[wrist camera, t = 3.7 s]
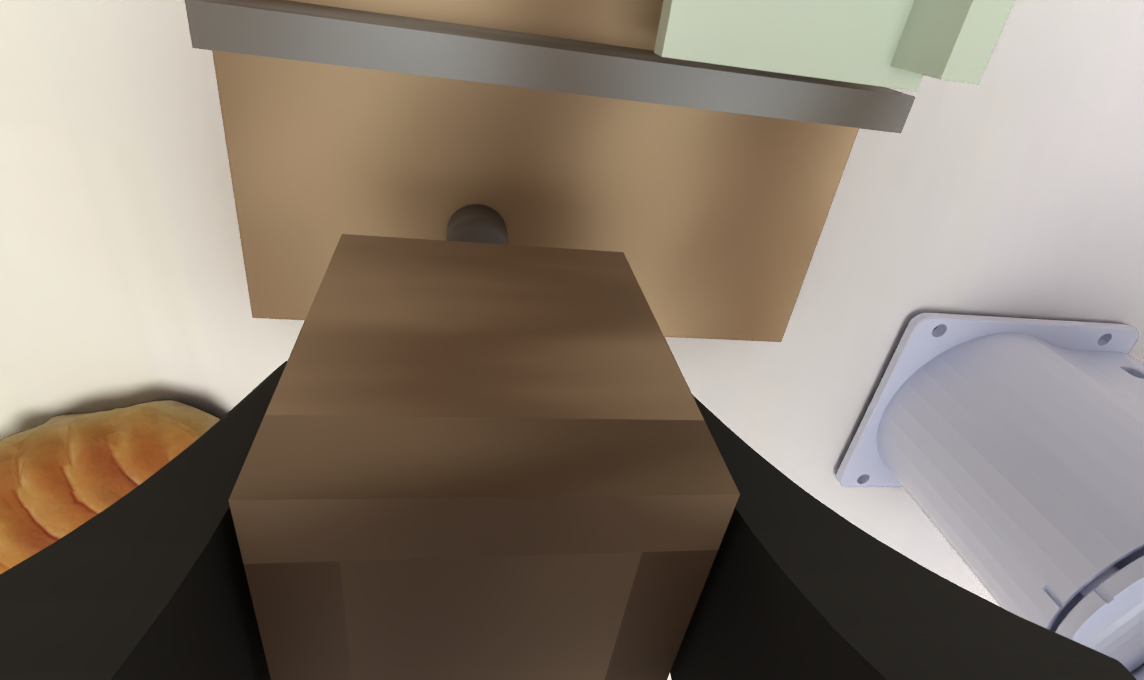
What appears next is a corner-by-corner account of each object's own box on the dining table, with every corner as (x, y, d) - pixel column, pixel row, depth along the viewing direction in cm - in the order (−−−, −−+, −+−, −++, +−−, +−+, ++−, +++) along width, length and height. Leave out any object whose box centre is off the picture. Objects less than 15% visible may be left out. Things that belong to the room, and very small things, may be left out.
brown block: (623, 252, 11) (739, 494, 7) (585, 450, 14) (647, 729, 9) (341, 233, 11) (228, 500, 6) (357, 450, 13) (290, 759, 8)
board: (976, -273, 13) (1115, -335, 10) (768, 326, 21) (815, 385, 18) (152, -494, 10) (29, -668, 7) (262, 300, 18) (223, 366, 15)
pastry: (143, 334, 18) (75, 416, 15) (307, 467, 22) (280, 556, 19) (-74, 477, 20) (-178, 579, 17) (112, 579, 23) (56, 679, 20)
